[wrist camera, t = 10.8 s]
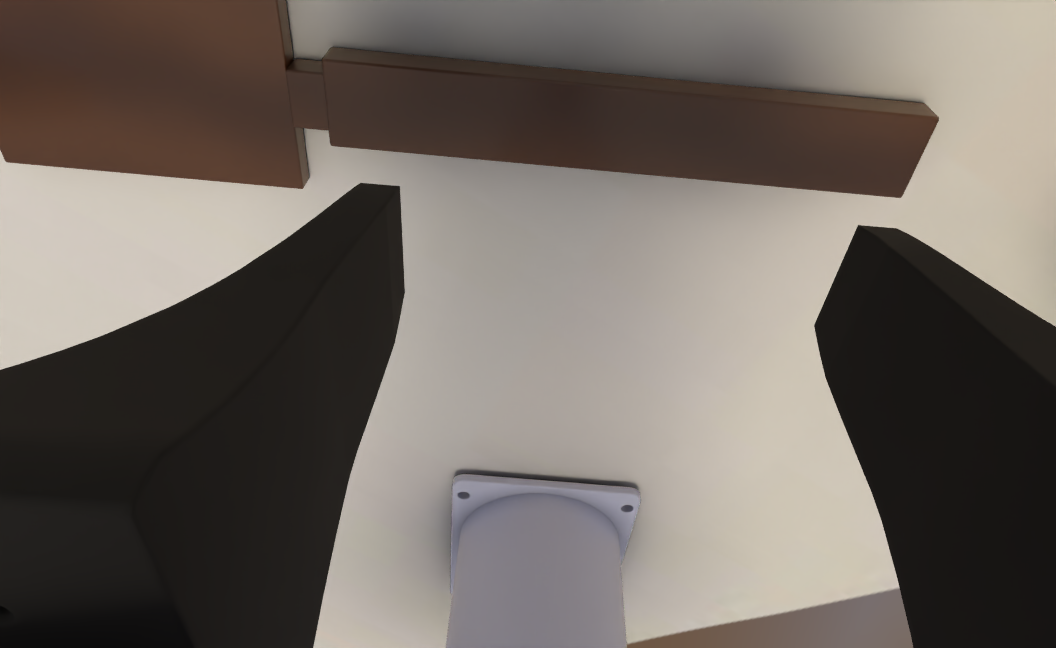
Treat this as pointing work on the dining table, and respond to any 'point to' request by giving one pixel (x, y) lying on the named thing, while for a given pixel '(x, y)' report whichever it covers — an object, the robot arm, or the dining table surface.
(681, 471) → the dining table surface
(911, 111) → the spatula
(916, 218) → the dining table surface
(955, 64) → the dining table surface
